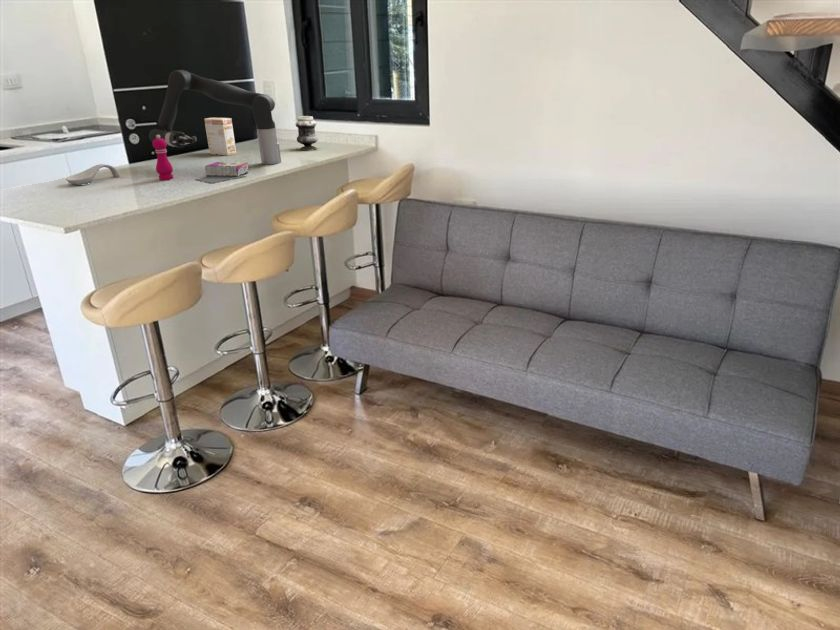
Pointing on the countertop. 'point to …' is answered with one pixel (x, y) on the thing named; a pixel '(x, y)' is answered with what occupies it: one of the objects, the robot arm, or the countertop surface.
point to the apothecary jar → (306, 132)
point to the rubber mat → (218, 178)
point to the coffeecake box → (220, 136)
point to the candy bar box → (227, 169)
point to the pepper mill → (162, 159)
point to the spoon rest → (89, 175)
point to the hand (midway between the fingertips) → (193, 141)
